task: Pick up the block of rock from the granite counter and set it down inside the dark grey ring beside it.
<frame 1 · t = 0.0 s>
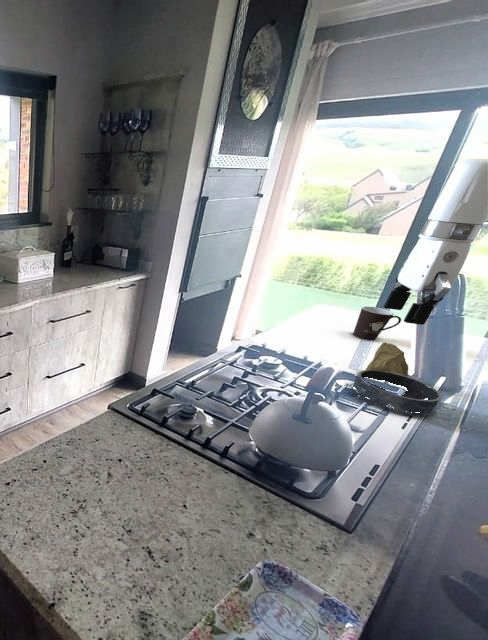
hand: (402, 315, 86), 26 cm above the counter, tool pointing down, fingers open, 9 cm apart
coffee mug: (368, 338, 144), on the counter
dark grey ring: (389, 399, 107), on the counter
rock: (383, 378, 118), on the counter
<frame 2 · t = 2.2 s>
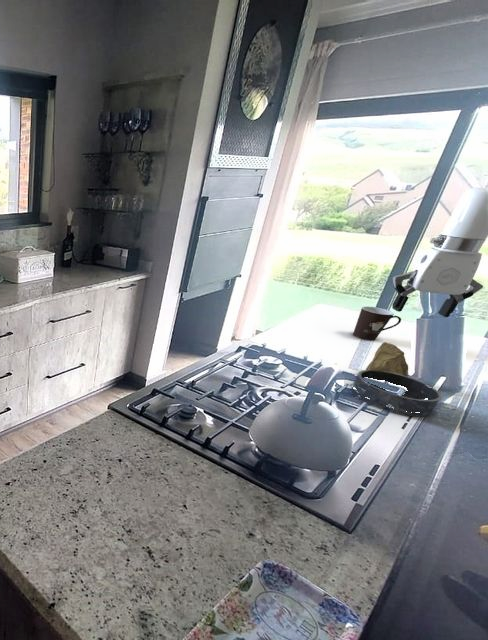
hand: (419, 312, 104), 21 cm above the counter, tool pointing down, fingers open, 9 cm apart
nothing on the counter moved.
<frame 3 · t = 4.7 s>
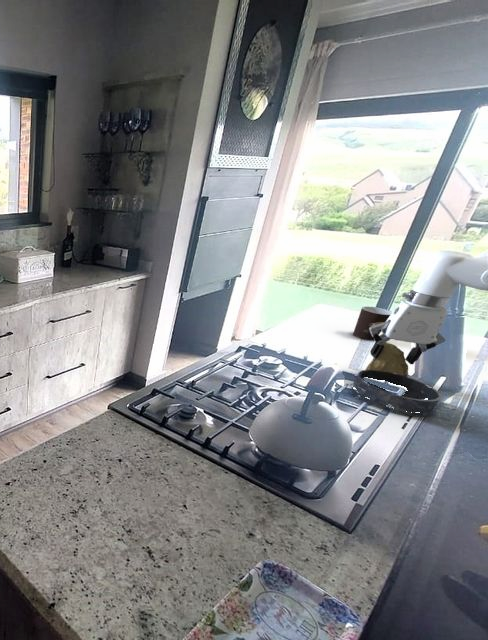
hand: (391, 358, 115), 6 cm above the counter, tool pointing down, fingers closed on rock, 7 cm apart
rock: (383, 378, 118), on the counter, touching gripper
everything else where it was.
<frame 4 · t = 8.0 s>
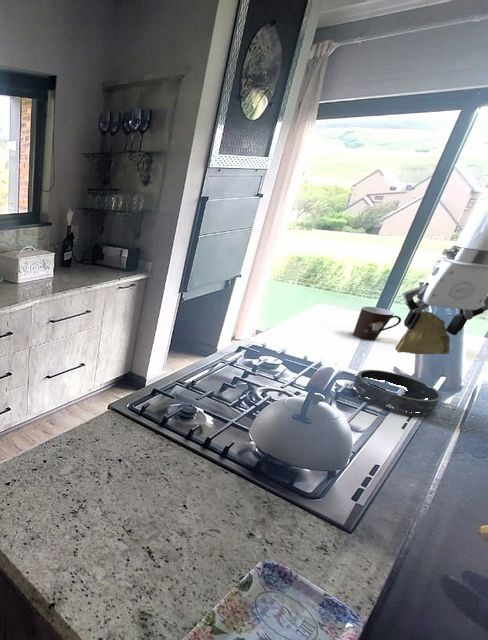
hand: (429, 329, 98), 19 cm above the counter, tool pointing down, fingers closed on rock, 7 cm apart
rock: (420, 352, 101), point 13 cm above the counter, touching gripper
everything else where it was.
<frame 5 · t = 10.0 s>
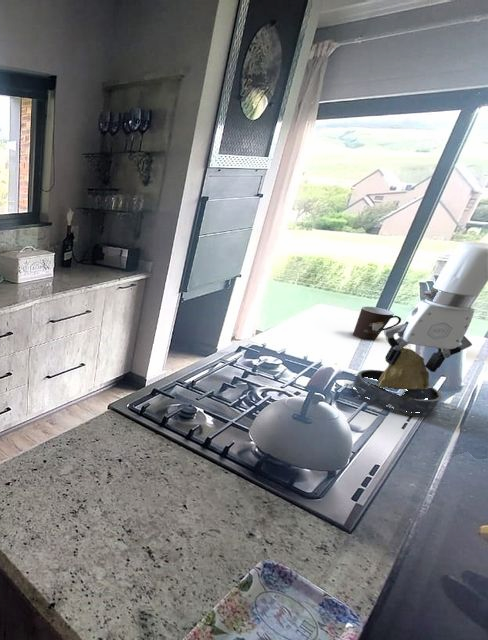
hand: (409, 365, 102), 10 cm above the counter, tool pointing down, fingers closed on rock, 7 cm apart
rock: (401, 387, 104), point 4 cm above the counter, touching gripper
everything else where it was.
when the fingers open (6 cm above the counter, at t = 11.5 s): rock stays where it is, resting on dark grey ring.
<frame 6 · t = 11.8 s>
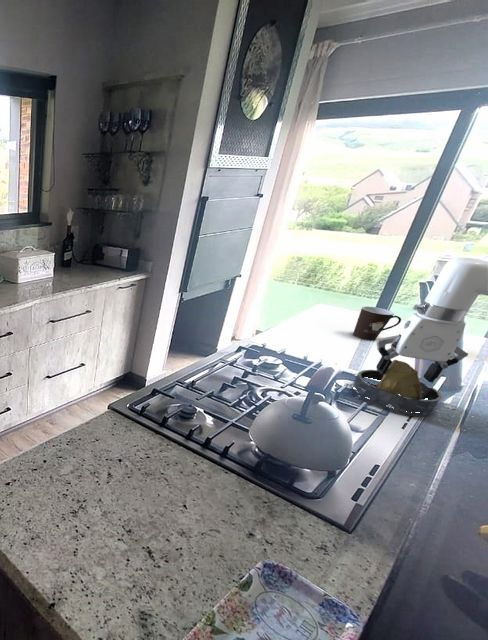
hand: (403, 375, 103), 7 cm above the counter, tool pointing down, fingers open, 9 cm apart
rock: (394, 399, 106), resting on dark grey ring
everything else where it was.
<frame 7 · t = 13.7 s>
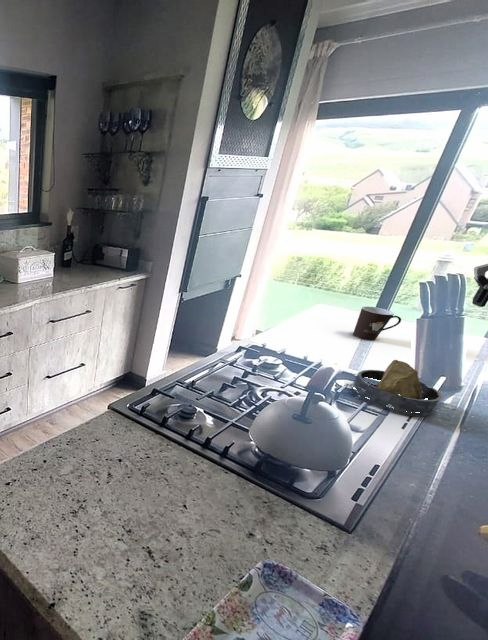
nothing on the counter moved.
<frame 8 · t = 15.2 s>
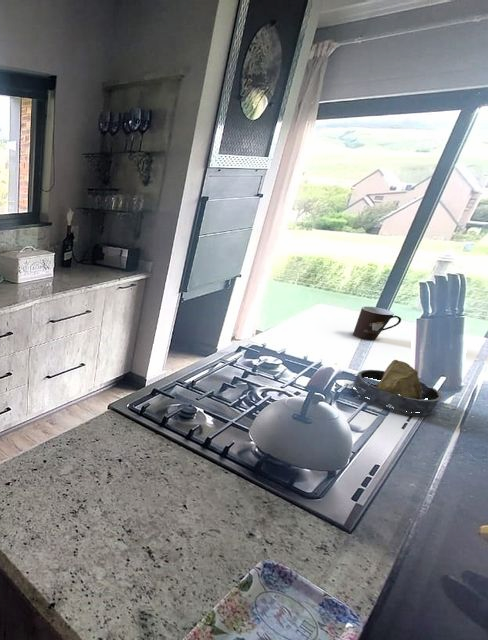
nothing on the counter moved.
at the end: rock inside the target area in the dark grey ring (0.9 cm from its centre), point 0.3 cm above the dark grey ring's base; rock tilted 0°; the gripper is holding nothing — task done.
